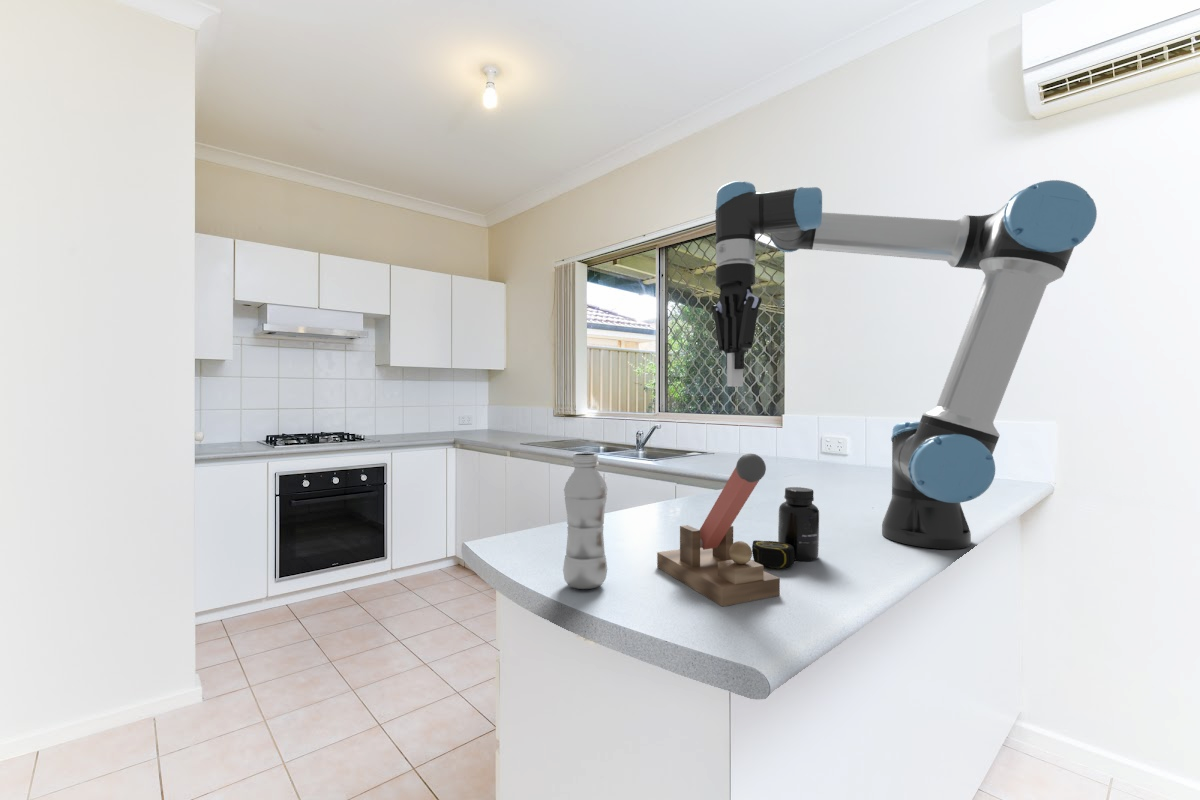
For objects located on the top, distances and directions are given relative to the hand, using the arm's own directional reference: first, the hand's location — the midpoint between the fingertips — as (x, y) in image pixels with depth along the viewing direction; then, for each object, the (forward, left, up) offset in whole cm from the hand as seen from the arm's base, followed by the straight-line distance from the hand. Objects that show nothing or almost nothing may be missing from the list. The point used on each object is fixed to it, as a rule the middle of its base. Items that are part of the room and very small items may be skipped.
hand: (735, 386), depth 106 cm
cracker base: (+8, +23, -30) cm, 39 cm away
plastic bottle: (+28, +26, -31) cm, 49 cm away
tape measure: (-3, +14, -31) cm, 34 cm away
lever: (+9, +21, -25) cm, 34 cm away
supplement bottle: (-9, +10, -31) cm, 33 cm away
